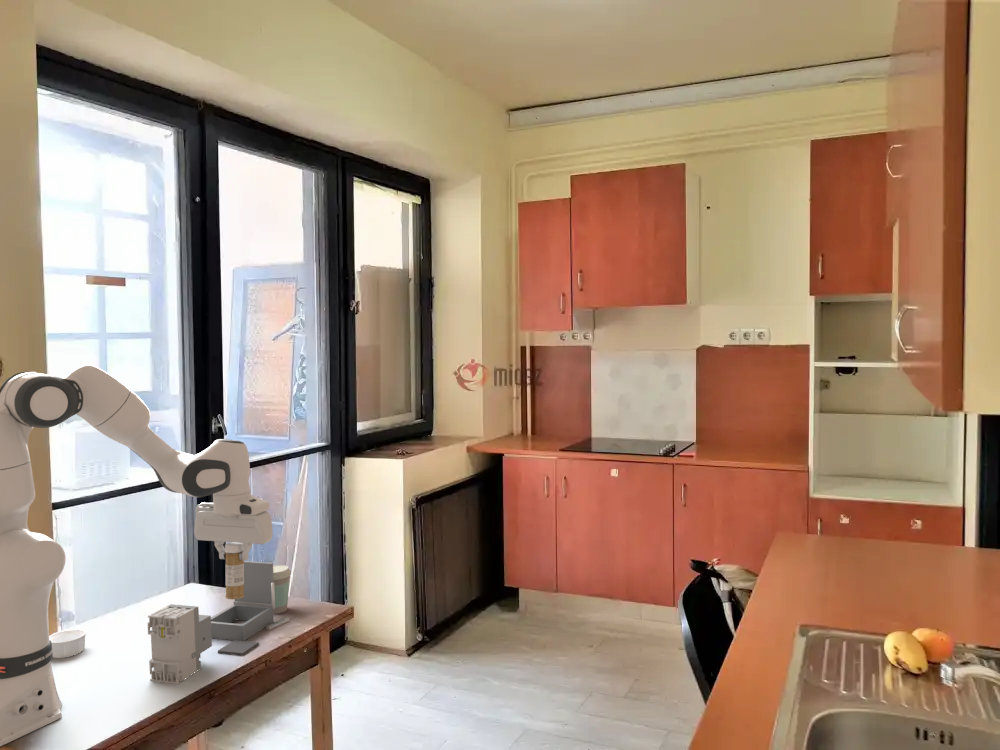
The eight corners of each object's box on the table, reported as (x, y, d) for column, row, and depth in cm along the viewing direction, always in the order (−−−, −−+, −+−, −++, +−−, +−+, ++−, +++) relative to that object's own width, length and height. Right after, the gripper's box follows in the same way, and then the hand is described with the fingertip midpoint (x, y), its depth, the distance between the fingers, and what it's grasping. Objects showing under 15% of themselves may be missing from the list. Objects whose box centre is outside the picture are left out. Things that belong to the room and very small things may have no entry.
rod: (269, 631, 211) (269, 626, 211) (266, 630, 212) (266, 625, 212) (289, 622, 217) (288, 618, 217) (285, 621, 218) (285, 617, 218)
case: (247, 641, 203) (244, 580, 202) (203, 637, 207) (200, 576, 206) (278, 620, 217) (276, 563, 216) (236, 617, 221) (234, 560, 220)
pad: (242, 655, 194) (242, 653, 194) (217, 653, 196) (217, 650, 196) (258, 644, 201) (258, 642, 201) (234, 642, 203) (234, 639, 203)
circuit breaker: (216, 658, 193) (214, 597, 192) (178, 684, 179) (175, 618, 179) (190, 655, 195) (187, 595, 194) (150, 680, 181) (147, 616, 181)
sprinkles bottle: (242, 594, 201) (242, 540, 201) (246, 598, 197) (245, 544, 197) (223, 596, 199) (223, 542, 199) (226, 601, 195) (226, 546, 195)
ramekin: (38, 660, 195) (37, 642, 194) (59, 645, 204) (58, 629, 203) (74, 659, 194) (73, 642, 194) (93, 645, 203) (92, 628, 203)
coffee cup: (266, 605, 230) (265, 564, 229) (295, 605, 230) (294, 564, 229) (256, 615, 222) (254, 573, 221) (286, 615, 221) (285, 573, 221)
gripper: (187, 504, 197) (189, 560, 197) (261, 508, 191) (262, 565, 192) (203, 499, 203) (205, 553, 203) (275, 503, 197) (276, 558, 198)
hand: (233, 559), depth 198 cm, fingers closed on sprinkles bottle, 4 cm apart
